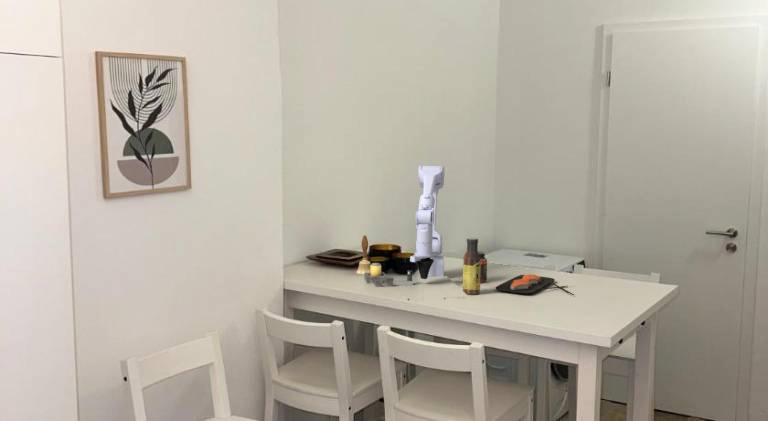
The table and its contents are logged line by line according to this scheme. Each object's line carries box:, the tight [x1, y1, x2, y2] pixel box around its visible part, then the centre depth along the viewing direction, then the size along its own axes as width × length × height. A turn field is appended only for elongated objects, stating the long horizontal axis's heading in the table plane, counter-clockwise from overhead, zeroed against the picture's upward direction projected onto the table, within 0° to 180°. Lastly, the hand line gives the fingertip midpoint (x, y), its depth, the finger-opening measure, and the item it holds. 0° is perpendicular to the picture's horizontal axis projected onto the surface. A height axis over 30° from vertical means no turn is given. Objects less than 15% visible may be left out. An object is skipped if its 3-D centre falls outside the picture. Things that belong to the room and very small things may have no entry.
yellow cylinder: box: [371, 262, 382, 276], centre depth 283 cm, size 4×4×7 cm
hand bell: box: [355, 235, 372, 275], centre depth 298 cm, size 8×8×16 cm
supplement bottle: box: [478, 251, 488, 284], centre depth 289 cm, size 6×6×11 cm
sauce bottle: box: [462, 237, 481, 296], centre depth 269 cm, size 7×6×20 cm
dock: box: [363, 271, 394, 288], centre depth 282 cm, size 17×17×4 cm
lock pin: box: [393, 270, 414, 286], centre depth 277 cm, size 8×2×5 cm, turn 99°
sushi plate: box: [495, 273, 575, 296], centre depth 278 cm, size 29×30×4 cm
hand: (423, 278), depth 278 cm, fingers closed
